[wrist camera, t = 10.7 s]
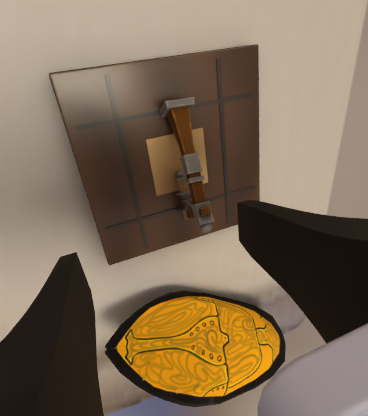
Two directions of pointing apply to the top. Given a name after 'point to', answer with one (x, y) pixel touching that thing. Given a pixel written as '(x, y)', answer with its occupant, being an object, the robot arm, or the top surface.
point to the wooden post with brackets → (188, 163)
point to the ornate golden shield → (197, 348)
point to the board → (162, 143)
